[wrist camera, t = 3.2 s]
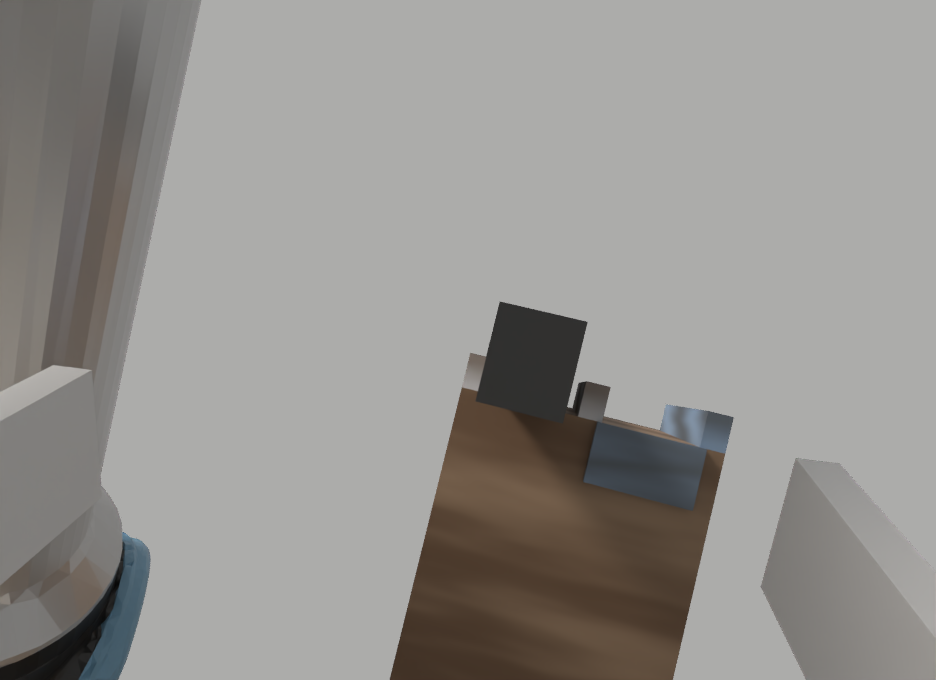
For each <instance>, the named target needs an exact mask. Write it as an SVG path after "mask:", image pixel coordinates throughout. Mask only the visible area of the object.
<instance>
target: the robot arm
mask: <svg viewBox="0 0 936 680" xmlns="http://www.w3.org/2000/svg"><path fill="white" fill-rule="evenodd" d="M200 3H201V0H0V680H118V679H119V676H120V674H121V672H122V669H123V667H124V665H125V662H126V660H127V657H128V654H129V651H130V647H131V644H132V641H133V638H134V634H135V631H136V627H137V624H138V621H139V616H140V612H141V609H142V605H143V601H144V597H145V592H146V587H147V581H148V578H149V569H150V552H149V549H148V548H147V546H146V545H145V544H144V543H143V542H142V541H140V540H138V539H135V538H131V537H129V536H128V535H127V534H125V533H124V532H122V523H121V519H120V516H119V513H118V510H117V508H116V506H115V504H114V502H113V501H112V499H111V497H110V496H109V495H108V493H107V492H106V491H105V489H104V488H103V487H102V486H101V476H100V475H101V471H102V466H103V460H104V456H105V451H106V447H107V442H108V437H109V433H110V428H111V423H112V419H113V413H114V409H115V404H116V399H117V395H118V390H119V385H120V380H121V376H122V371H123V366H124V362H125V357H126V353H127V348H128V342H129V338H130V334H131V329H132V324H133V319H134V315H135V310H136V305H137V301H138V296H139V291H140V286H141V282H142V277H143V272H144V268H145V263H146V258H147V253H148V248H149V244H150V239H151V234H152V229H153V225H154V220H155V216H156V211H157V206H158V201H159V196H160V192H161V187H162V183H163V177H164V173H165V168H166V164H167V159H168V154H169V149H170V145H171V140H172V135H173V130H174V125H175V121H176V117H177V111H178V107H179V102H180V97H181V93H182V88H183V84H184V79H185V74H186V69H187V64H188V60H189V55H190V51H191V46H192V41H193V36H194V32H195V27H196V22H197V17H198V13H199V7H200ZM761 588H762V590H763V592H764V594H765V596H766V598H767V600H768V602H769V604H770V607H771V609H772V611H773V612H774V615H775V617H776V619H777V621H778V623H779V625H780V627H781V629H782V631H783V633H784V635H785V637H786V639H787V641H788V643H789V646H790V647H791V650H792V652H793V654H794V656H795V658H796V660H797V662H798V664H799V666H800V668H801V670H802V672H803V674H804V676H805V679H806V680H936V571H935V570H934V569H933V568H932V567H931V566H930V564H929V563H928V562H927V561H926V560H925V559H924V558H923V557H922V556H921V554H920V553H919V552H918V551H917V550H916V549H915V548H914V547H913V545H912V544H911V543H910V542H909V541H908V540H907V539H906V538H905V536H904V535H903V534H902V533H901V532H900V531H899V530H898V529H897V528H896V526H895V525H894V524H893V523H892V522H891V521H890V520H889V518H888V517H887V516H886V515H885V514H884V513H883V512H882V511H881V509H880V508H879V507H878V506H877V505H876V504H875V503H874V502H873V501H872V499H871V498H870V497H869V496H868V495H867V494H866V493H865V492H864V490H863V489H862V488H861V487H860V486H859V485H858V484H857V483H856V481H855V480H854V479H853V478H852V477H851V476H850V475H849V474H848V472H847V471H846V470H845V469H844V468H843V467H842V466H841V465H840V464H839V463H830V462H823V461H814V460H807V459H799V458H796V459H795V463H794V466H793V470H792V474H791V477H790V481H789V485H788V489H787V492H786V496H785V500H784V504H783V507H782V511H781V515H780V518H779V522H778V525H777V529H776V533H775V537H774V540H773V544H772V548H771V551H770V555H769V559H768V563H767V566H766V570H765V573H764V577H763V581H762V585H761Z"/></svg>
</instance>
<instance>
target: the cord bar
mask: <svg viewBox="0 0 936 680" xmlns="http://www.w3.org/2000/svg"><path fill="white" fill-rule="evenodd" d="M586 326H587V322H586V321H581V320H577V319H573V318H568V317H564V316H560V315H555V314H551V313H547V312H542V311H538V310H534V309H529V308H525V307H521V306H517V305H512V304H508V303H503V302H500V303H499V307H498V311H497V315H496V319H495V323H494V327H493V332H492V336H491V340H490V344H489V348H488V352H487V356H486V360H485V364H484V368H483V372H482V376H481V380H480V384H479V388H478V392H477V397H476V402H480V403H484V404H488V405H492V406H496V407H499V408H503V409H507V410H511V411H515V412H519V413H523V414H527V415H531V416H535V417H539V418H543V419H547V420H550V421H554V422H558V423H562V424H563V421H564V417H565V413H566V409H567V405H568V401H569V396H570V392H571V388H572V384H573V380H574V376H575V372H576V368H577V363H578V359H579V355H580V351H581V347H582V342H583V339H584V334H585V330H586Z"/></svg>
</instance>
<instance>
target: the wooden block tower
mask: <svg viewBox="0 0 936 680" xmlns="http://www.w3.org/2000/svg"><path fill="white" fill-rule="evenodd" d="M485 360H486V357H485V356H481V355H477V354H473V353H470V357H469V361H468V365H467V369H466V374H465V377H464V382H463V385H462V390H461V393H460V397H459V402H458V406H457V410H456V414H455V418H454V422H453V426H452V430H451V434H450V438H449V442H448V446H447V450H446V454H445V458H444V462H443V466H442V471H441V474H440V479H439V482H438V487H437V491H436V495H435V499H434V503H433V507H432V511H431V515H430V519H429V523H428V527H427V531H426V535H425V539H424V543H423V547H422V551H421V556H420V559H419V563H418V567H417V572H416V575H415V580H414V584H413V588H412V592H411V596H410V600H409V604H408V608H407V612H406V616H405V620H404V624H403V628H402V632H401V637H400V641H399V644H398V648H397V652H396V656H395V660H394V664H393V668H392V673H391V677H390V680H673V676H674V672H675V668H676V663H677V659H678V655H679V650H680V646H681V642H682V637H683V633H684V629H685V625H686V620H687V616H688V612H689V607H690V603H691V599H692V594H693V590H694V586H695V581H696V577H697V573H698V568H699V564H700V560H701V556H702V551H703V547H704V543H705V538H706V534H707V530H708V525H709V520H710V516H711V513H712V508H713V504H714V500H715V495H716V491H717V487H718V482H719V478H720V473H721V470H722V465H723V461H724V456H725V452H726V448H727V444H728V439H729V435H730V430H731V427H732V422H733V417H730V416H726V415H722V414H718V413H714V412H710V411H704V410H698V409H691V408H685V407H678V406H671V405H666V408H665V411H664V416H663V420H662V424H661V428H660V430H656V429H652V428H648V427H644V426H640V425H636V424H632V423H628V422H624V421H620V420H616V419H612V418H608V417H604V412H605V408H606V403H607V399H608V395H609V391H610V387H607V386H603V385H599V384H595V383H591V382H581V383H579V384H578V388H577V392H576V396H575V400H574V405H573V409H572V408H568V407H567V409H566V413H565V417H564V421H563V424H562V423H558V422H554V421H550V420H547V419H543V418H539V417H535V416H531V415H527V414H523V413H519V412H515V411H511V410H507V409H503V408H499V407H496V406H492V405H488V404H484V403H480V402H476V397H477V392H478V388H479V384H480V380H481V376H482V372H483V368H484V364H485Z"/></svg>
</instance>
